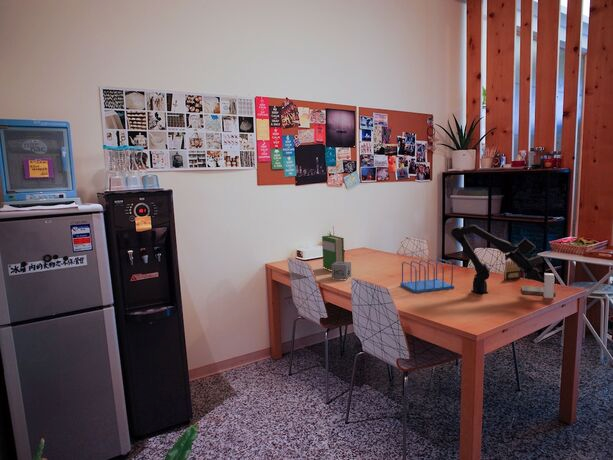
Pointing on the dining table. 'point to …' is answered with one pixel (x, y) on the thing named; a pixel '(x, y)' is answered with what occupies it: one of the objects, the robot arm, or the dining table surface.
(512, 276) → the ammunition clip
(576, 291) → the dining table surface
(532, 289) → the plank
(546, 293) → the white box
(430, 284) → the file sorter
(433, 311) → the dining table surface
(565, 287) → the dining table surface
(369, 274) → the dining table surface
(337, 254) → the hardback book
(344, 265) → the icon cube
